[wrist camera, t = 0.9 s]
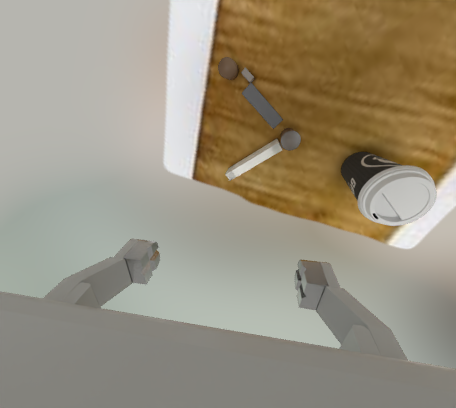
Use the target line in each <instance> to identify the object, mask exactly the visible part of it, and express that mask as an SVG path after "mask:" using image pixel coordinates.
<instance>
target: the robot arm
mask: <svg viewBox="0 0 456 408" xmlns="http://www.w3.org/2000/svg"><path fill="white" fill-rule="evenodd" d="M157 248H158V243H157V242H153V241H147V240H139V239H130V240H129V241H128V242H127V243H126V244H125V245H124V246H123V247H122V249H121V250H120V251H119V252H118V253H117V254H116V255H115V256H114V257H110V258H108V259H105V260H103V261H101V262H99V263H97V264H95V265H93V266H90V267H88V268H86V269H84V270H82V271H80V272H78V273H75V274H73V275H71V276H69V277H67V278H65V279H63V280H62V281H61V282H60V283H59V284H58V285H57V286H56V287H55V288H54V289H53V290H52V291H50V292H49V293H48V294H47V295H46V296H45V297H44V298H37V297H30V296H25V295H19V294H13V293H7V292H1V291H0V408H456V369H455V368H448V367H442V366H437V365H431V364H425V363H419V362H412V361H408V359H407V358H406V356H405V354H404V353H403V350H402V349H401V347H400V345H399V343H398V342H397V340H396V338H395V336H394V334H393V333H392V331H391V329H390V328H388V327H387V326H386V325H385V324H384V323H383V322H381V321H380V320H379V319H378V318H377V317H376V316H374V314H372V313H371V312H370V311H369V310H368V309H366V308H365V307H364V306H363V305H362V304H361V303H359V301H357V300H356V299H355V298H354V297H353V296H352V295H350V294H349V293H348V292H347V291H346V290H345V289H343V288H340V285H339V283H338V281H337V278H336V276H335V274H334V271H333V269H332V267H331V264H330V263H327V262H317V261H307V260H299V262H298V268H299V269H298V270H296V273H295V288H296V289H297V290H298V294H297V298H298V304H299V307H300V308H306V309H312V310H316V312H317V313H318V314H319V316H320V317H321V318H322V320H323V321H324V322H325V324H326V325H327V326H328V328H329V329H330V330H331V331H332V333H333V334H334V335H335V337H336V338H337V339H338V341H339V342H340V343H341V347H340V348H339V349H337V348H331V347H324V346H319V345H313V344H308V343H302V342H296V341H290V340H284V339H278V338H272V337H266V336H260V335H254V334H248V333H243V332H236V331H230V330H224V329H218V328H213V327H207V326H201V325H195V324H189V323H184V322H178V321H172V320H166V319H160V318H154V317H148V316H143V315H137V314H131V313H125V312H119V311H113V310H107V309H101V306H102V305H103V304H105V303H106V302H107V301H109V300H110V299H111V298H113V297H114V296H116V295H117V294H118V293H120V292H121V291H123V290H124V289H125V288H127V287H128V286H129V285H131V284H132V283H140V284H147V283H148V281H149V279H150V278H151V276H152V271H153V270H155V269H156V268H157V266H158V264H159V261H160V254H159V252H158V251H157Z"/></svg>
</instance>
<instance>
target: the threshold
mask: <svg viewBox="0 0 456 408" xmlns="http://www.w3.org/2000/svg"><path fill="white" fill-rule="evenodd" d="M242 94H243V95H244V97H245V98H246V99H247V100H248V101H249V102H250V103H251V104H252V106H253V107H254V108H255V109H256V110H257V111H258V112H259V113H260V115H261V116H262V117H263V118H264V119H265V120H266V121H267V122H268V124H269V125H270V126H271V127H272V128H273V129H274V128H275V127H276V126H277V125H278V124H279V123H280V122H281V121H282V120H283V119H282V118H281V117H280V116H279V114H278V113H277V112H276V111H275V110H274V109H273V107H272V106H271V105H270V104H269V103H268V102H267V100H266V99H265V98H264V97H263V96H262V95H261V93H260V92H259V91H258V90H257V89H256V88H255V86H254V85H253V84H252V83H250V84H249V85H248V87H247V88H246V89H245V90H244V91H243V92H242Z"/></svg>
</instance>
